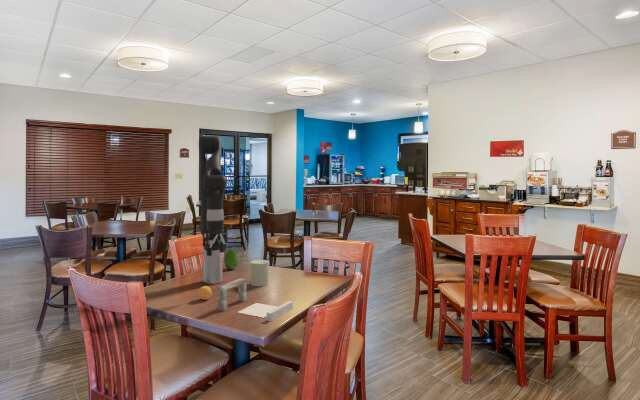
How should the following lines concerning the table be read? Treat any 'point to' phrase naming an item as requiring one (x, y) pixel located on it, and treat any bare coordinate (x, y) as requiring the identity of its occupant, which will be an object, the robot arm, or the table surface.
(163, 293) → the table surface
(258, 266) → the can
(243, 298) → the bridge
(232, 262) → the avocado
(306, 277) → the table surface
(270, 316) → the wall
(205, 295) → the ball
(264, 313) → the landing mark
